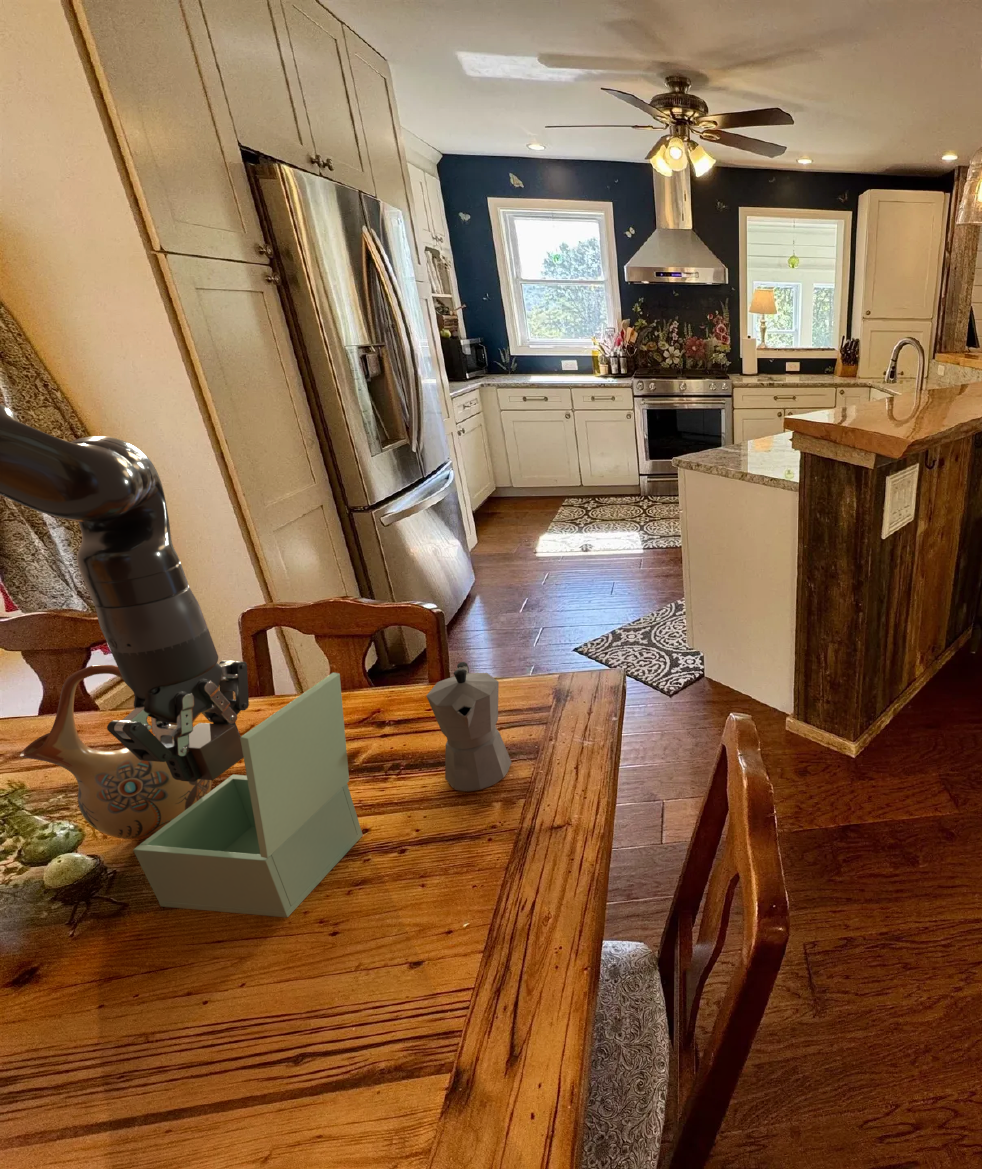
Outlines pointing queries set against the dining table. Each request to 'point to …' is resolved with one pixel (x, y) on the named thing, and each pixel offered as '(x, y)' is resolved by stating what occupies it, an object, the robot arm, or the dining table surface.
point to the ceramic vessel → (114, 775)
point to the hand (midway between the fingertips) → (211, 764)
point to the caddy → (243, 854)
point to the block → (215, 748)
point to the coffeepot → (470, 729)
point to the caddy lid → (296, 762)
